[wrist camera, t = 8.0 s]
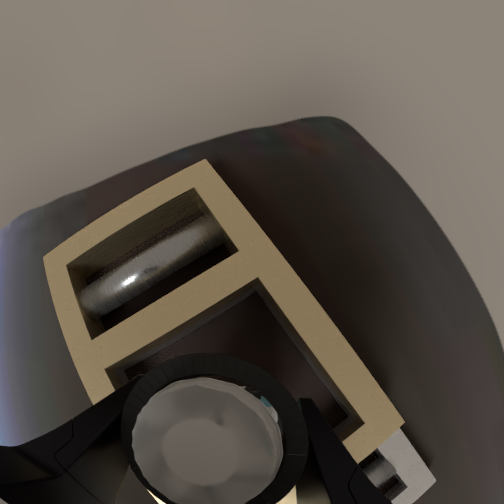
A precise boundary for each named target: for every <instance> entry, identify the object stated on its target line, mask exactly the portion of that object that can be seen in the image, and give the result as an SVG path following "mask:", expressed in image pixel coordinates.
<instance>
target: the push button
mask: <svg viewBox="0 0 504 504" xmlns="http://www.w3.org/2000/svg"><path fill="white" fill-rule="evenodd" d="M206 375H221V376H226V377H229V378H232V379H235V380H238V381H240V382H242V383H244V384H246V385H248V386H250V387H252V388H253V389H254V390H256V391H249V390H246V389H245V388H246V386H237V385H235V384H233V383H229V382H225V381H220V380H216V379H212V378H203V377H200V376H206ZM196 377H200V378H196ZM193 378H194V379H193ZM261 395H262V396H261ZM283 435H284V436H283ZM281 436H283V445H282V439H281ZM121 440H122V445H123V449H124V453H125V456H126V458H127V461H128V463H129V465H130V467H131V469H132V470H133V472H134V474H135V475H136V477H137V478H138V479H139V480H140V482H141V483H142V484H143V485H144V486H145V487H146V488H147V489H148V490H149V491H150V492H151V493H152V494H153V495H154V496H155V497H157V498H158V499H160V500H161V501H162V502H164V503H165V504H276V503H278V502H279V501H281V500H282V499H283V498H284V497H285V496H286V495H287V494H288V493H289V492H290V491H291V490H292V489H293V488H294V486H295V485H296V483H297V482H298V480H299V479H300V477H301V475H302V473H303V470H304V468H305V465H306V461H307V456H308V448H309V440H308V431H307V426H306V423H305V419H304V416H303V414H302V412H301V410H300V408H299V406H298V404H297V403H296V401H295V399H294V398H293V397H292V395H291V394H290V393H289V391H288V390H287V389H286V388H285V387H284V386H283V385H282V384H281V383H280V382H279V381H278V380H277V379H276V378H274V377H273V376H272V375H270V374H269V373H268V372H266V371H265V370H263V369H261V368H259V367H258V366H256V365H254V364H252V363H249V362H247V361H245V360H242V359H239V358H236V357H232V356H228V355H222V354H214V353H195V354H188V355H183V356H179V357H176V358H173V359H170V360H167V361H165V362H163V363H161V364H159V365H157V366H156V367H154V368H153V369H151V370H150V371H149V372H147V373H146V374H145V375H144V376H143V377H142V378H141V379H140V380H139V381H138V382H137V383H136V385H135V386H134V387H133V389H132V391H131V392H130V394H129V396H128V398H127V400H126V402H125V405H124V408H123V412H122V417H121Z"/></svg>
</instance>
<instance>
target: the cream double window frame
mask: <svg viewBox="0 0 504 504" xmlns="http://www.w3.org/2000/svg"><path fill="white" fill-rule="evenodd" d="M199 210H200V211H201V212H202V214H203V215H204V216H202V217H200V218H198V219H197V220H195V221H193V222H191V223H189V224H188V225H186V226H184V227H182V228H181V229H179V230H177V231H176V232H174V233H172V234H170V235H169V236H167V237H165V238H164V239H162V240H160V241H158V242H157V243H155V244H153V245H152V246H150V247H148V248H147V249H145V250H143V251H142V252H140V253H139V254H137V255H135V256H134V257H132V258H130V259H129V260H127V261H126V262H124V263H122V264H121V265H119V266H118V267H116V268H114V269H113V270H111V271H110V272H108V273H107V274H105V275H104V276H102V277H100V278H99V279H97V280H96V281H94V282H93V283H91V284H90V285H87V282H86V279H87V278H88V277H90V276H91V275H93V274H95V273H96V272H98V271H99V270H101V269H102V268H104V267H105V266H107V265H108V264H110V263H112V262H113V261H115V260H116V259H118V258H119V257H121V256H123V255H124V254H126V253H127V252H129V251H131V250H132V249H134V248H136V247H137V246H139V245H140V244H142V243H144V242H145V241H147V240H149V239H150V238H152V237H154V236H155V235H157V234H159V233H161V232H162V231H164V230H166V229H167V228H169V227H171V226H173V225H174V224H176V223H178V222H180V221H181V220H183V219H185V218H187V217H188V216H190V215H192V214H194V213H196V212H197V211H199ZM222 244H224V246H225V247H226V248H227V250H228V251H229V253H230V254H231V256H230V257H228V258H227V259H225V260H223V261H222V262H220V263H218V264H217V265H215V266H213V267H212V268H210V269H208V270H207V271H205V272H203V273H202V274H200V275H198V276H197V277H195V278H193V279H192V280H190V281H188V282H187V283H185V284H183V285H182V286H180V287H178V288H177V289H175V290H174V291H172V292H170V293H169V294H167V295H165V296H164V297H162V298H160V299H159V300H157V301H155V302H154V303H152V304H150V305H149V306H147V307H145V308H144V309H142V310H141V311H139V312H137V313H136V314H134V315H132V316H131V317H129V318H127V319H126V320H124V321H122V322H121V323H119V324H118V325H116V326H114V327H113V328H111V329H109V330H108V331H105V329H104V326H103V324H102V321H101V319H100V318H101V317H103V316H105V315H106V314H108V313H109V312H111V311H113V310H114V309H116V308H117V307H119V306H121V305H122V304H124V303H126V302H127V301H129V300H130V299H132V298H134V297H135V296H137V295H139V294H140V293H142V292H143V291H145V290H147V289H148V288H150V287H152V286H153V285H155V284H157V283H158V282H160V281H161V280H163V279H165V278H166V277H168V276H170V275H171V274H173V273H175V272H176V271H178V270H180V269H181V268H183V267H185V266H186V265H188V264H190V263H191V262H193V261H195V260H197V259H198V258H200V257H202V256H203V255H205V254H207V253H208V252H210V251H212V250H213V249H215V248H217V247H219V246H220V245H222ZM43 261H44V266H45V270H46V275H47V279H48V283H49V288H50V291H51V295H52V299H53V303H54V306H55V310H56V313H57V316H58V319H59V323H60V326H61V329H62V332H63V335H64V338H65V340H66V343H67V346H68V349H69V351H70V354H71V356H72V359H73V361H74V364H75V366H76V369H77V371H78V373H79V376H80V378H81V380H82V382H83V385H84V387H85V389H86V391H87V393H88V395H89V397H90V399H91V401H92V403H93V405H94V404H96V403H97V402H99V401H100V400H102V399H103V398H105V397H106V396H108V395H109V394H111V393H112V392H114V391H115V390H117V389H118V388H120V387H121V386H123V385H124V384H126V383H127V382H129V379H128V377H127V375H126V373H125V370H127V369H129V368H131V367H133V366H134V365H136V364H138V363H140V362H141V361H143V360H145V359H147V358H148V357H150V356H152V355H153V354H155V353H157V352H159V351H160V350H162V349H164V348H165V347H167V346H169V345H171V344H172V343H174V342H176V341H177V340H179V339H181V338H182V337H184V336H186V335H187V334H189V333H191V332H192V331H194V330H196V329H197V328H199V327H201V326H202V325H204V324H205V323H207V322H209V321H210V320H212V319H214V318H215V317H217V316H218V315H220V314H222V313H223V312H225V311H227V310H228V309H230V308H231V307H233V306H235V305H236V304H238V303H239V302H241V301H242V300H244V299H246V298H247V297H249V296H250V295H252V294H253V293H255V292H257V293H258V294H259V295H260V297H261V298H262V300H263V301H264V303H265V304H266V305H267V307H268V308H269V310H270V311H271V312H272V314H273V315H274V317H275V318H276V319H277V321H278V322H279V324H280V325H281V326H282V328H283V329H284V330H285V332H286V333H287V335H288V336H289V337H290V339H291V340H292V342H293V343H294V344H295V346H296V347H297V348H298V350H299V351H300V353H301V354H302V355H303V357H304V358H305V359H306V361H307V362H308V363H309V365H310V366H311V368H312V369H313V370H314V372H315V373H316V374H317V376H318V377H319V378H320V380H321V381H322V382H323V384H324V385H325V386H326V388H327V389H328V391H329V392H330V393H331V395H332V396H333V397H334V399H335V400H336V401H337V403H338V404H339V405H340V407H341V408H342V409H343V411H344V412H345V413H346V415H347V416H348V418H346V419H345V420H344V421H343V422H341V423H340V424H339V425H338V426H336V427H335V428H334V429H333V430H334V432H335V433H336V434H337V436H338V437H339V439H340V440H341V441H342V443H343V444H344V446H345V447H346V448H347V450H348V451H349V453H350V454H351V455H352V457H353V458H354V460H355V461H356V462H357V464H358V463H359V462H361V461H362V460H363V459H364V458H366V457H367V456H368V455H369V454H370V453H372V452H373V451H375V452H376V454H377V455H378V456H379V457H378V458H376V459H375V460H374V461H373V462H372V463H370V464H369V465H368V466H367V467H365V468H364V469H363V472H364V473H365V474H366V476H367V477H368V478H369V479H370V481H371V482H372V483H373V484H374V485H375V486H376V487H377V488H379V487H380V486H381V485H382V484H383V483H385V482H386V481H387V480H388V479H389V478H391V477H392V476H393V475H394V477H395V478H396V479H397V480H398V483H397V484H395V485H394V486H393V487H392V488H391V489H390V490H388V491H387V492H386V493H385V494H384V495H385V496H386V497H387V498H388V499H389V500H390V501H391V502H392V503H393V504H412V503H413V502H415V501H416V500H417V499H418V498H419V497H420V496H421V495H422V494H423V493H424V492H425V491H427V490H428V489H429V488H430V487H431V486H432V485H433V484H434V483H435V482H436V479H435V478H434V476H433V475H432V473H431V472H430V471H429V469H428V468H427V466H426V465H425V463H424V462H423V460H422V459H421V458H420V456H419V455H418V453H417V452H416V450H415V449H414V448H413V446H412V445H411V443H410V442H409V440H408V439H407V438H406V436H405V435H404V433H403V432H402V430H401V429H400V427H401V426H402V425H403V424H404V423H405V421H404V420H403V419H402V417H401V416H400V414H399V413H398V411H397V410H396V409H395V407H394V406H393V404H392V403H391V402H390V400H389V399H388V397H387V396H386V394H385V393H384V392H383V390H382V389H381V387H380V386H379V385H378V383H377V382H376V380H375V379H374V378H373V376H372V375H371V374H370V372H369V371H368V369H367V368H366V367H365V365H364V364H363V362H362V361H361V360H360V358H359V357H358V356H357V354H356V353H355V351H354V350H353V349H352V347H351V346H350V345H349V343H348V342H347V341H346V339H345V338H344V337H343V335H342V334H341V332H340V331H339V330H338V328H337V327H336V326H335V324H334V323H333V322H332V320H331V319H330V318H329V316H328V315H327V314H326V312H325V311H324V310H323V308H322V307H321V306H320V304H319V303H318V302H317V300H316V299H315V298H314V296H313V295H312V294H311V292H310V291H309V290H308V288H307V287H306V286H305V285H304V283H303V282H302V281H301V279H300V278H299V277H298V275H297V274H296V273H295V271H294V270H293V269H292V268H291V266H290V265H289V264H288V262H287V261H286V260H285V258H284V257H283V256H282V255H281V253H280V252H279V251H278V249H277V248H276V247H275V246H274V244H273V243H272V242H271V240H270V239H269V238H268V237H267V235H266V234H265V233H264V231H263V230H262V229H261V228H260V226H259V225H258V224H257V223H256V221H255V220H254V219H253V217H252V216H251V215H250V214H249V212H248V211H247V210H246V209H245V207H244V206H243V205H242V204H241V202H240V201H239V200H238V199H237V197H236V196H235V195H234V194H233V192H232V191H231V190H230V189H229V187H228V186H227V185H226V184H225V182H224V181H223V180H222V179H221V177H220V176H219V175H218V174H217V172H216V171H215V170H214V169H213V168H212V166H211V165H210V164H209V163H208V161H207V160H206V159H204V160H202V161H200V162H198V163H196V164H194V165H192V166H190V167H188V168H186V169H184V170H182V171H180V172H178V173H176V174H174V175H172V176H170V177H168V178H167V179H165V180H163V181H161V182H159V183H157V184H156V185H154V186H152V187H150V188H148V189H147V190H145V191H143V192H141V193H140V194H138V195H136V196H134V197H133V198H131V199H129V200H128V201H126V202H124V203H123V204H121V205H119V206H118V207H116V208H114V209H113V210H111V211H110V212H108V213H106V214H105V215H103V216H102V217H100V218H98V219H97V220H95V221H94V222H92V223H91V224H89V225H88V226H86V227H85V228H83V229H82V230H80V231H79V232H77V233H76V234H74V235H73V236H72V237H70V238H69V239H67V240H66V241H65V242H63V243H62V244H60V245H59V246H58V247H56V248H55V249H53V250H52V251H51V252H49V253H48V254H47V255H45V256H44V257H43ZM147 490H148V489H147ZM148 491H149V490H148ZM149 492H150V491H149ZM150 493H151V492H150ZM151 495H152V496H153V497H154V498H155V499H156V501H157V502H158V503H159V504H165V503H164V502H162V501H161V500H160V499H158V498H157V497H155V496H154V495H153V494H152V493H151ZM276 504H297V499H296V486H294V488H293V489H292V490H291V491H290V492H289V493H288V494H287V495H286V496H285V497H284V498H283V499H282V500H281V501H279V502H278V503H276Z"/></svg>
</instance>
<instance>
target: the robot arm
mask: <svg viewBox="0 0 504 504" xmlns="http://www.w3.org/2000/svg"><path fill="white" fill-rule="evenodd" d="M143 376H144V375H143V374H139V375H137V376H136V377H134V378H133V379H131V380H130V381H129V382H127V383H126V384H124V385H123V386H121V387H120V388H118V389H117V390H115V391H114V392H112V393H111V394H109V395H108V396H106V397H105V398H103V399H102V400H100V401H99V402H97V403H96V404H94V405H93V406H91V407H90V408H88V409H87V410H85V411H84V412H82V413H81V414H79V415H77V416H76V417H74V418H73V420H72V419H71V420H69V421H68V422H66V423H65V424H63V425H61V426H60V427H58V428H56V429H54V430H52V431H50V432H48V433H46V434H44V435H42V436H40V437H38V438H36V439H33V440H31V441H29V442H26V443H24V444H21V445H18V446H11V447H8V446H0V504H115V501H116V499H117V496H118V493H119V491H120V488H121V486H122V483H123V480H124V478H125V475H126V473H127V470H128V468H129V463H128V461H127V458H126V456H125V453H124V449H123V445H122V440H121V417H122V412H123V408H124V405H125V402H126V400H127V398H128V396H129V394H130V392H131V391H132V389H133V387H134V386H135V385H136V383H137V382H138V381H139V380H140V379H141V378H142V377H143ZM297 404H298V406H299V408H300V410H301V412H302V414H303V416H304V419H305V423H306V426H307V431H308V440H309V448H308V456H307V461H306V465H305V468H304V470H303V473H302V475H301V477H300V479H299V480H298V482H297V483H296V485H295V486H296V499H297V504H393V503H392V502H391V501H390V500H389V499H388V498H387V497H386V496H385V495H384V494H383V493H382V492H381V491H380V490H379V489H378V488H377V487H376V486H375V485H374V484H373V483H372V482H371V481H370V479H369V478H368V477H367V476H366V474H365V473H364V472H363V470H362V469H361V468H360V466H357V465H358V464H357V462H356V461H355V460H354V458H353V457H352V455H351V454H350V453H349V451H348V450H347V448H346V447H345V446H344V444H343V443H342V441H341V440H340V439H339V437H338V436H337V434H336V433H335V432H334V430H333V429H332V427H331V426H330V424H329V423H328V422H327V420H326V419H325V417H324V416H323V414H322V413H321V411H320V410H319V409H318V407H317V406H316V404H315V403H314V401H313V400H312V398H310V397H300V398H299V399H298V402H297Z"/></svg>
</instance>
